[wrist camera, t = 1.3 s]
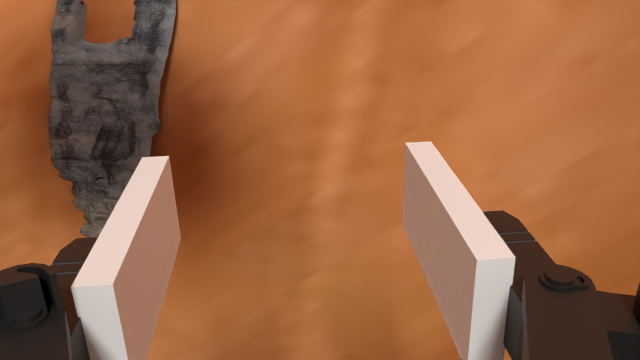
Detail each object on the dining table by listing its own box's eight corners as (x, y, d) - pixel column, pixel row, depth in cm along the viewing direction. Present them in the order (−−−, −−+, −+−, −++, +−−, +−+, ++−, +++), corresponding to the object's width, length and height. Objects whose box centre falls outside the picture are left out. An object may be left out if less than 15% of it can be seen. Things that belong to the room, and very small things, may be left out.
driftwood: (153, 242, 37) (147, 258, 36) (42, 224, 36) (29, 241, 34) (202, -111, 30) (198, -114, 28) (64, -146, 29) (49, -152, 27)
